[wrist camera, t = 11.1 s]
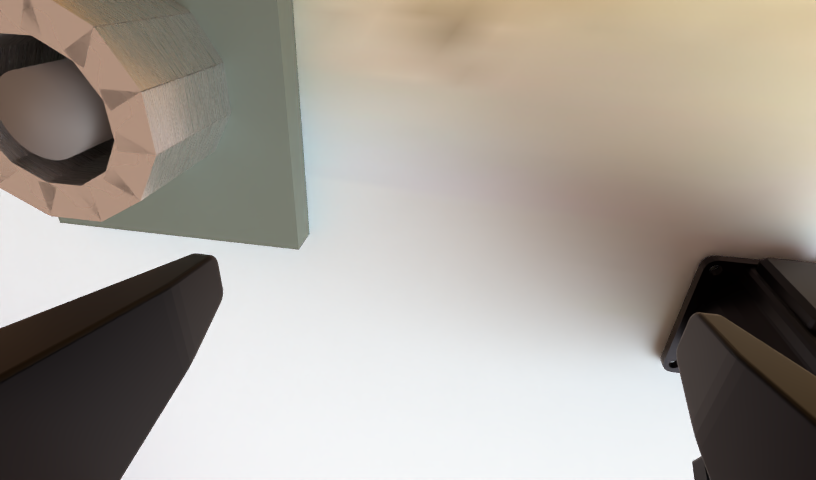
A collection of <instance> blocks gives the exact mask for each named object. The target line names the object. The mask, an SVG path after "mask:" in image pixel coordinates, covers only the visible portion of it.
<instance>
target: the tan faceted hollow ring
mask: <svg viewBox="0 0 816 480" xmlns="http://www.w3.org/2000/svg"><path fill="white" fill-rule="evenodd" d="M66 58H69V59H70V60H72V61H73V62H74V63H75V64H76V66H77V67H78V68H79V70H80V71H81V72H82V74H83V75H84V76H85V77H86V79H87V80H88V81H89V83H90V84H91V85H92V87H93V88H94V89H95V90H96V92H97V93H98V94H99V96H100V97H101V98H102V99H103V101H104V105H105V108H106V112H107V116H108V119H109V123H110V126H111V130H112V134H113V137H114V138H112V139H110V140H107V141H105V142H103V143H101V144H99V145H96V146H94V147H92V148H90V149H88V150H85V151H83V152H81V153H79V154H77V155H74V156H72V157H70V158H68V159H64V160H50V159H46V158H43V157H40V156H38V155H36V154H34V153H32V152H30V151H29V150H27V149H26V148H24V147H23V146H22V145H21V144H19V143H18V142H17V141H16V140H15V139H14V138H13V137H12V136H11V134H10V133H9V132H8V131H7V129H6V128H5V126H4V125H3V123H2V121H1V120H0V188H1V189H3V190H5V191H7V192H8V193H10V194H12V195H14V196H16V197H17V198H19V199H21V200H23V201H25V202H26V203H28V204H30V205H32V206H34V207H35V208H37V209H39V210H41V211H43V212H44V213H46V214H48V215H50V216H55V217H64V218H73V219H81V220H90V221H99V222H102V221H104V220H106V219H108V218H110V217H112V216H114V215H116V214H117V213H119V212H121V211H123V210H125V209H127V208H129V207H131V206H132V205H134V204H136V203H138V202H140V201H141V200H143V199H144V198H146V197H147V196H149V195H150V194H152V193H153V192H155V191H156V190H158V189H159V188H161V187H162V186H164V185H165V184H167V183H168V182H170V181H171V180H173V179H174V178H176V177H177V176H179V175H180V174H182V173H183V172H185V171H186V170H188V169H189V168H190V167H192V166H193V165H195V164H196V163H198V162H199V161H201V160H202V159H204V158H205V157H207V156H208V155H210V154H211V153H213V152H214V151H215V150H216V148H217V145H218V143H219V141H220V138H221V136H222V134H223V131H224V129H225V127H226V124H227V122H228V119H229V117H230V115H231V108H230V101H229V95H228V88H227V81H226V74H225V67H224V63H223V60H222V59H221V57H220V56H219V54H218V53H217V51H216V49H215V48H214V46H213V45H212V43H211V42H210V40H209V39H208V37H207V35H206V34H205V32H204V31H203V29H202V28H201V26H200V25H199V23H198V21H197V20H196V18H195V17H194V15H193V14H192V13H191V12H190V11H189V10H187V9H186V8H184V7H183V6H181V5H180V4H178V3H177V2H175V1H174V0H0V77H1V76H2V75H3V74H4V73H6V72H8V71H11V70H15V69H20V68H24V67H29V66H34V65H38V64H43V63H48V62H52V61H57V60H62V59H66Z"/></svg>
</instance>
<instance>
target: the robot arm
mask: <svg viewBox="0 0 816 480" xmlns="http://www.w3.org/2000/svg"><path fill="white" fill-rule="evenodd" d="M716 265H718V267H717V268H716V269H714V270H710V268H711V267H713V266H716ZM222 297H223V287H222V282H221V276H220V271H219V266H218V262H217V260H216V258H215V257H214V256H212V255H204V254H191V255H188V256H186V257H183V258H181V259H178V260H175V261H173V262H170V263H168V264H165V265H162V266H160V267H157V268H155V269H152V270H150V271H147V272H144V273H142V274H139V275H137V276H134V277H131V278H129V279H126V280H124V281H121V282H119V283H116V284H113V285H111V286H108V287H106V288H103V289H101V290H98V291H95V292H93V293H90V294H88V295H85V296H82V297H80V298H77V299H75V300H72V301H70V302H67V303H64V304H62V305H59V306H57V307H54V308H51V309H49V310H46V311H44V312H41V313H39V314H36V315H33V316H31V317H28V318H26V319H23V320H20V321H18V322H15V323H13V324H10V325H8V326H5V327H2V328H0V480H120V479H121V478H122V476H123V474H124V473H125V471H126V470H127V468H128V466H129V465H130V463H131V461H132V460H133V458H134V457H135V455H136V453H137V452H138V450H139V449H140V447H141V445H142V444H143V442H144V440H145V439H146V437H147V436H148V434H149V432H150V431H151V429H152V427H153V426H154V424H155V423H156V421H157V419H158V418H159V416H160V414H161V413H162V411H163V410H164V408H165V406H166V405H167V403H168V401H169V400H170V398H171V397H172V395H173V393H174V392H175V390H176V388H177V387H178V385H179V384H180V382H181V380H182V379H183V377H184V375H185V374H186V372H187V370H188V369H189V367H190V365H191V363H192V361H193V359H194V358H195V356H196V354H197V351H198V349H199V347H200V345H201V343H202V341H203V339H204V337H205V335H206V333H207V330H208V328H209V326H210V324H211V322H212V320H213V318H214V316H215V314H216V311H217V309H218V307H219V305H220V303H221V300H222ZM675 360H676V361H675ZM671 361H675V362H671ZM661 362H662V365H663V367H664V369H666V370H667V371H670V372H676V373H680V376H681V380H682V384H683V389H684V393H685V397H686V402H687V406H688V410H689V414H690V419H691V423H692V427H693V431H694V434H695V438H696V441H697V444H698V447H699V450H700V453H701V457H699V458H698V459H696V460H694V461H693V462H692V464H693V472H694V479H695V480H816V263H813V262H803V261H793V260H784V259H774V258H766V259H761V260H753V259H744V258H734V257H724V256H709V257H707V258H705V259H704V260H702V262H701V263H700V265H699V267H698V270H697V272H696V275H695V277H694V279H693V282H692V284H691V287H690V289H689V291H688V294H687V296H686V298H685V301H684V303H683V306H682V308H681V310H680V313H679V315H678V318H677V320H676V322H675V325H674V327H673V330H672V332H671V334H670V337H669V339H668V342H667V344H666V346H665V349H664V351H663V354H662V356H661Z"/></svg>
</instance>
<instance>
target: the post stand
mask: <svg viewBox="0 0 816 480" xmlns="http://www.w3.org/2000/svg"><path fill="white" fill-rule="evenodd" d="M174 1H175V2H177V3H178V4H180V5H181V6H183V7H184V8H186V9H187V10H189V11H190V12H191V13H192V14H193V15H194V17H195V18H196V20H197V21H198V23H199V25H200V26H201V28H202V29H203V31H204V32H205V34H206V35H207V37H208V39H209V40H210V42H211V43H212V45H213V46H214V48H215V49H216V51H217V53H218V54H219V56H220V57H221V59H222V60H223V63H224V67H225V74H226V81H227V88H228V95H229V101H230V108H231V115H230V117H229V119H228V122H227V124H226V127H225V129H224V131H223V134H222V136H221V138H220V141H219V143H218V145H217V148H216V150H215V151H214V152H213V153H211V154H210V155H208V156H207V157H205V158H204V159H202V160H201V161H199V162H198V163H196V164H195V165H193V166H192V167H190V168H189V169H188V170H186V171H185V172H183V173H182V174H180V175H179V176H177V177H176V178H174V179H173V180H171V181H170V182H168V183H167V184H165V185H164V186H162V187H161V188H159V189H158V190H156V191H155V192H153V193H152V194H150V195H149V196H147V197H146V198H144V199H143V200H141V201H140V202H138V203H136V204H134V205H132V206H131V207H129V208H127V209H125V210H123V211H121V212H119V213H117V214H116V215H114V216H112V217H110V218H108V219H106V220H104V221H102V222H99V221H90V220H81V219H73V218H64V217H58V218H59V220H60V223H68V224H77V225H86V226H95V227H104V228H113V229H122V230H130V231H139V232H148V233H157V234H166V235H175V236H183V237H192V238H201V239H210V240H219V241H228V242H236V243H245V244H254V245H263V246H272V247H281V248H290V249H298V250H299V248H300V247H301V245H302V244H303V242H304V241H305V239H306V238H307V237H308V235H309V223H308V209H307V196H306V182H305V168H304V154H303V141H302V127H301V113H300V100H299V86H298V72H297V58H296V45H295V31H294V17H293V3H292V0H174ZM0 120H1V121H2V123H3V125H4V126H5V128H6V129H7V131H8V132H9V133H10V134H11V136H12V137H13V138H14V139H15V140H16V141H17V142H18V143H19V144H21V145H22V146H23V147H24V148H26V149H27V150H29V151H30V152H32V153H34V154H36V155H38V156H40V157H43V158H46V159H50V160H64V159H68V158H70V157H72V156H74V155H77V154H79V153H81V152H83V151H85V150H88V149H90V148H92V147H94V146H96V145H99V144H101V143H103V142H105V141H107V140H110V139H112V138H114V137H113V134H112V130H111V126H110V123H109V119H108V116H107V112H106V108H105V105H104V101H103V99H102V98H101V97H100V96H99V94H98V93H97V92H96V90H95V89H94V88H93V87H92V85H91V84H90V83H89V81H88V80H87V79H86V77H85V76H84V75H83V74H82V72H81V71H80V70H79V68H78V67H77V66H76V64H75V63H74V62H73V61H72V60H70V59H69V58H66V59H62V60H57V61H52V62H48V63H43V64H38V65H34V66H29V67H24V68H20V69H15V70H11V71H8V72H6V73H4V74H3V75H2V76H1V77H0Z"/></svg>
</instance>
